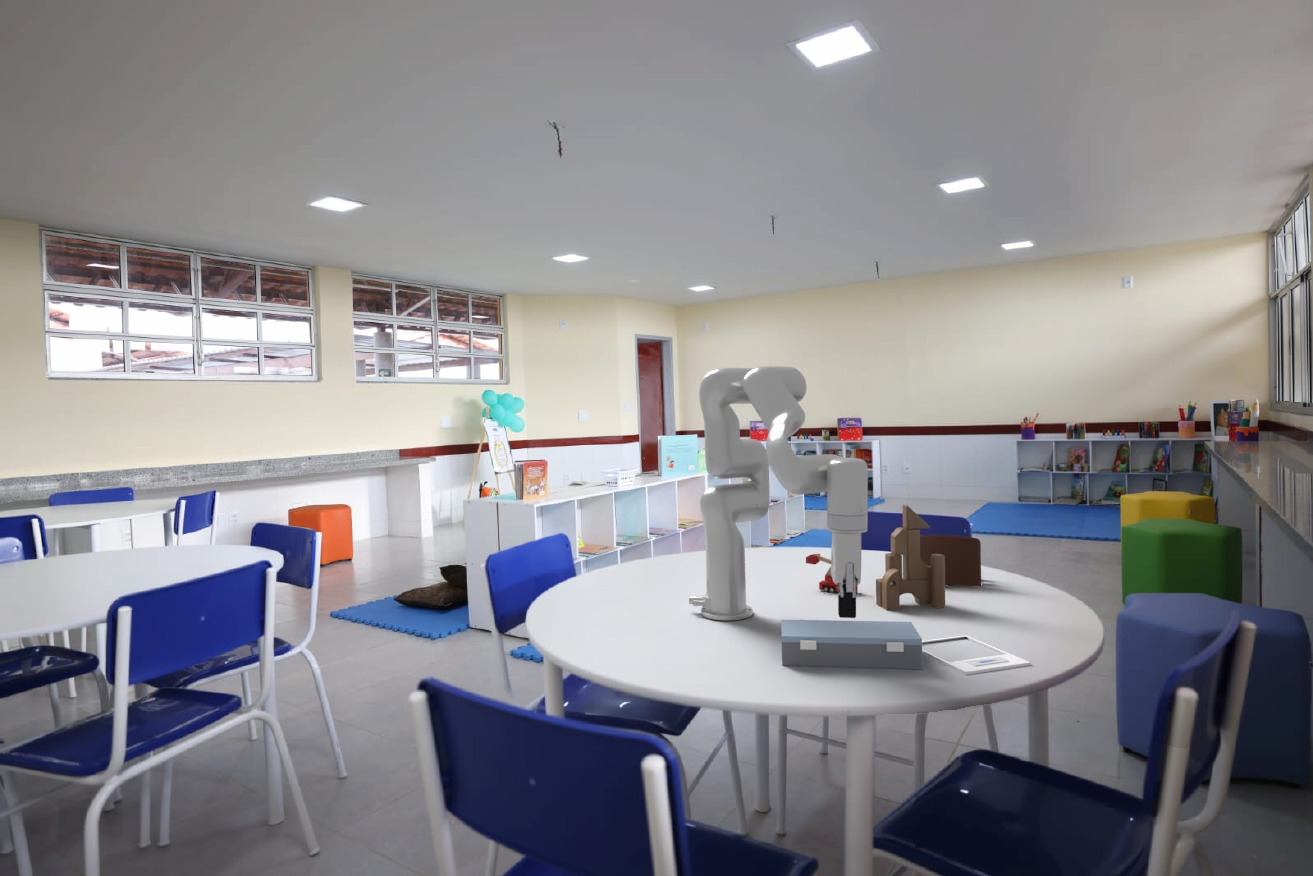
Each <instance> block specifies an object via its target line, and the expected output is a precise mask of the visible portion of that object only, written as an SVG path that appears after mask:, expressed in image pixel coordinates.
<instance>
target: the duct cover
mask: <svg viewBox="0 0 1313 876" xmlns="http://www.w3.org/2000/svg"><path fill="white" fill-rule="evenodd" d="M780 623H781V624H780V628H781V631H780V632H781V633H782V636H781V643H782V642H794V643H800V649H805V650H816V643H838V644H883V645H886V648H887V651H889V652H904V645H922V646H923V643H922V641H923V638H922V637H921V635H920V634H919V632H918V631H917V629H916V628H915V626H914V624H913V623H912V622H911V621H883V620H879V621H878V620H834V619H833V620H832V619H830V620H828V619H827V620H825V619H823V620H822V619H821V620H820V619H816V620H815V619H780Z"/></svg>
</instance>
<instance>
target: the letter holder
mask: <svg viewBox="0 0 1313 876" xmlns="http://www.w3.org/2000/svg"><path fill="white" fill-rule="evenodd" d="M981 545H982V543H981V541H980V539H979V538H977V537H972V536H965V535H956V534H920V558H921V560H922V561H923V563H924V564H926V565H928V566H930V567H931V555H932V554H942V555H944V556H945V586H946V585H948V586H947V587H949V586H952V587H972V586H981V587H982V562H981V561H982V555H981V554H982V553H981V551H982V549H981V548H982V546H981ZM902 578H904V570H903V569H902Z"/></svg>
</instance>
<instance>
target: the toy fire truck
mask: <svg viewBox="0 0 1313 876" xmlns="http://www.w3.org/2000/svg"><path fill="white" fill-rule="evenodd" d="M820 562H823V563H826V564H829V565H831V558H827V557H825V556H821V554H820V553H814V554H809V555H807V556H805V564H809V565H817V564H819V563H820ZM858 585H859V584H858ZM858 585H857V584H856V588H855V594H856V593H858V592H859V591H858V588H859V587H858ZM818 590H820V591H824V592H825V593H828V592H830V593H834V592H836V593H839V583H838V584H835V583H834V582H833V579H832V576H831V566H829V568H828V569H827V571H826V573H825V574H824V580H821V581H819V582H818Z"/></svg>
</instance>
